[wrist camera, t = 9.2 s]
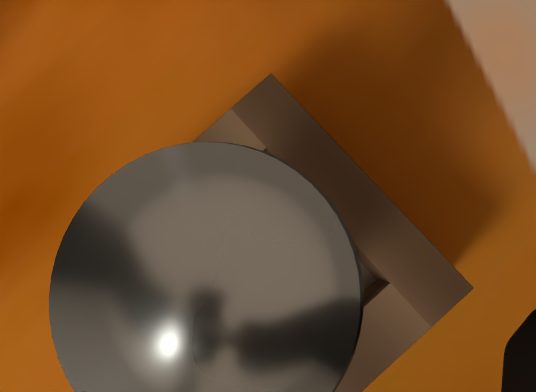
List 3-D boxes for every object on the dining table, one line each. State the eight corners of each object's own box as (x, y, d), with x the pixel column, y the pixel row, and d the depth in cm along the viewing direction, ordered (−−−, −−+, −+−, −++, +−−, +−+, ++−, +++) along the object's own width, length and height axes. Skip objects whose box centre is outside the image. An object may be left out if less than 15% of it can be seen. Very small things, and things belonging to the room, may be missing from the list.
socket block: (255, 452, 20) (245, 499, 16) (100, 262, 21) (55, 262, 17) (439, 283, 20) (473, 288, 16) (275, 107, 22) (270, 73, 18)
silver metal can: (243, 356, 20) (137, 536, 7) (185, 254, 20) (-11, 238, 7) (344, 295, 20) (433, 357, 7) (284, 195, 20) (259, 77, 7)
